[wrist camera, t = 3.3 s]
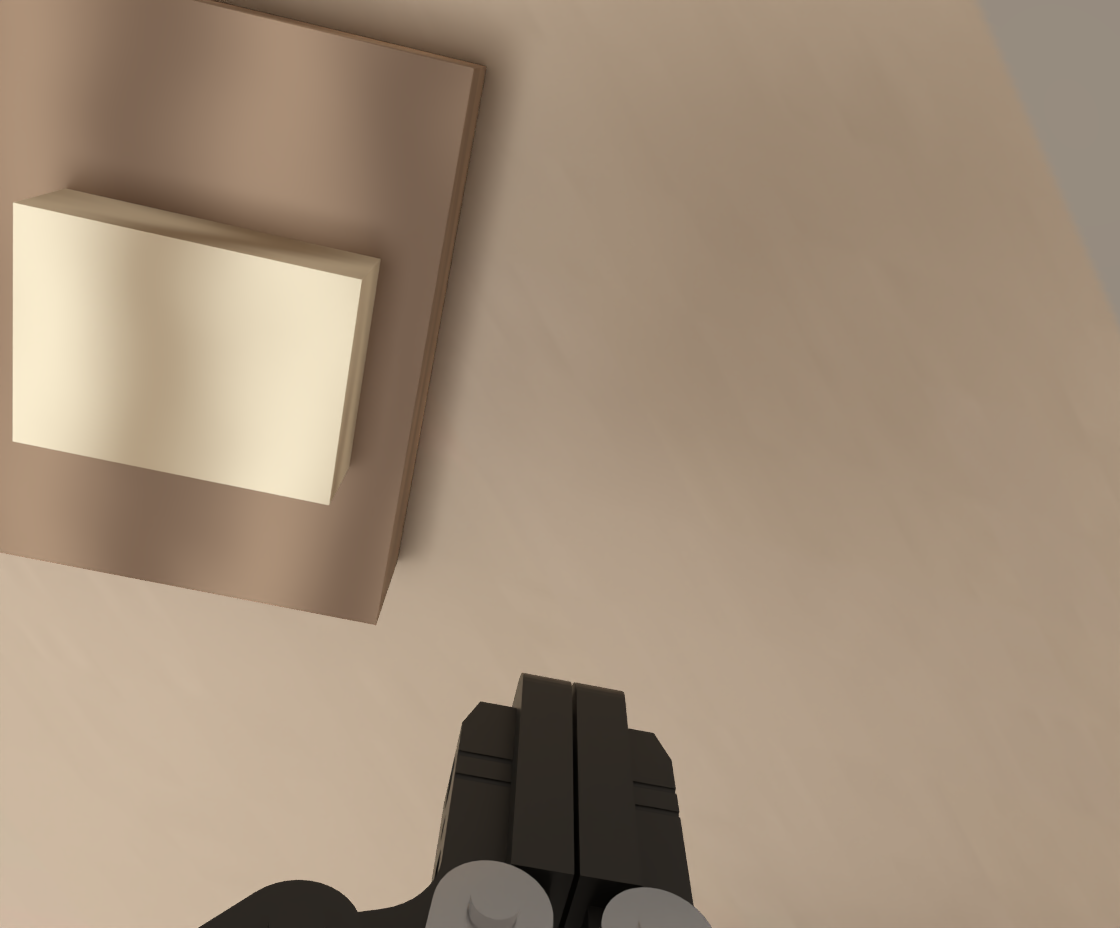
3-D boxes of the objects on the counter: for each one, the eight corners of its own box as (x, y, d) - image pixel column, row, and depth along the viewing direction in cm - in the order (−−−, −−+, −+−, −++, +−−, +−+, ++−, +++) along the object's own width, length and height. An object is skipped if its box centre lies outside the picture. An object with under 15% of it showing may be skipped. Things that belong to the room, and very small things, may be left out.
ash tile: (380, 259, 25) (361, 280, 23) (349, 467, 27) (329, 505, 25) (65, 188, 24) (13, 202, 22) (60, 407, 26) (12, 441, 24)
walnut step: (486, 66, 27) (473, 68, 23) (397, 560, 33) (375, 624, 29) (-30, -59, 26) (-131, -78, 22) (-23, 477, 32) (-100, 533, 28)
